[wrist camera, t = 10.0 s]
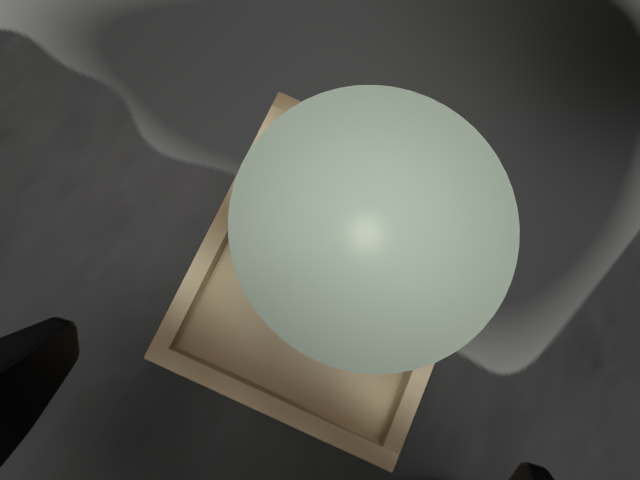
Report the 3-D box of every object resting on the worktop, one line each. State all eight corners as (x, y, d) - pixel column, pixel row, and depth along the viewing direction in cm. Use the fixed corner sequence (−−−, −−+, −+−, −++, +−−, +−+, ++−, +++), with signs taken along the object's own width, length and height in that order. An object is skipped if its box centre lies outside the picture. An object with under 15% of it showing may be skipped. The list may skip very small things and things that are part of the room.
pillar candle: (327, 362, 21) (376, 442, 8) (241, 271, 22) (164, 216, 9) (413, 275, 22) (577, 228, 9) (329, 189, 23) (375, 32, 10)
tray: (383, 459, 21) (392, 472, 20) (155, 354, 21) (143, 358, 20) (485, 201, 24) (500, 191, 22) (279, 108, 24) (279, 91, 22)
